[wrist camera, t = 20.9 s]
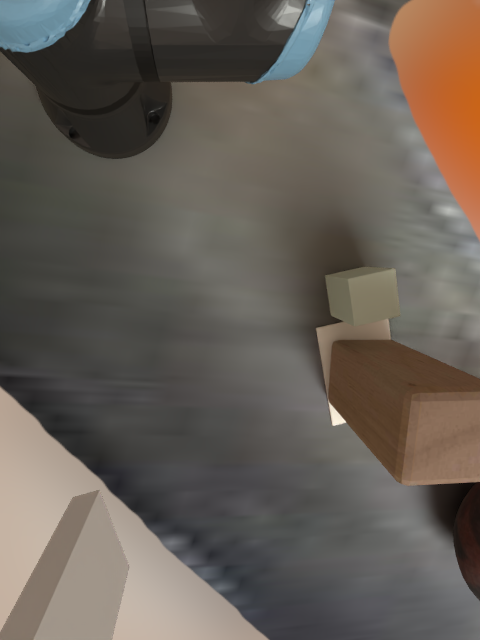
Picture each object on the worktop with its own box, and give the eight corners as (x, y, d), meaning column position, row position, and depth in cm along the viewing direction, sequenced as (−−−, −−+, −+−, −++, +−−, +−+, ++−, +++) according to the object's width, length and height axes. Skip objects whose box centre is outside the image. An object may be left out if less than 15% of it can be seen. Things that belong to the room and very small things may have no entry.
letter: (315, 327, 49) (316, 328, 49) (386, 311, 50) (387, 311, 50) (332, 424, 52) (332, 425, 52) (398, 408, 53) (399, 409, 53)
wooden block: (329, 338, 49) (411, 391, 30) (393, 338, 50) (513, 389, 31) (325, 401, 51) (399, 491, 32) (387, 400, 52) (495, 485, 33)
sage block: (324, 275, 48) (347, 279, 40) (364, 266, 48) (395, 268, 40) (330, 315, 49) (354, 326, 41) (369, 306, 50) (400, 315, 42)
